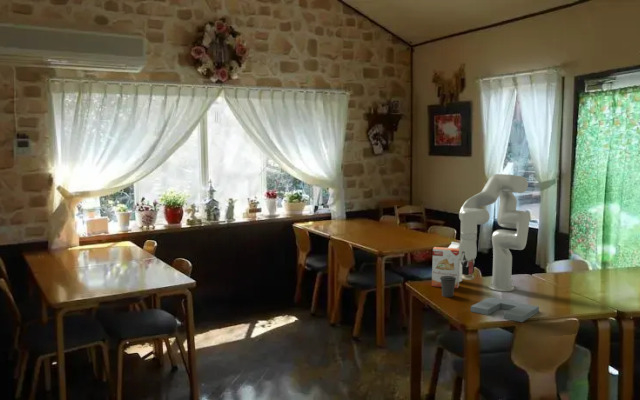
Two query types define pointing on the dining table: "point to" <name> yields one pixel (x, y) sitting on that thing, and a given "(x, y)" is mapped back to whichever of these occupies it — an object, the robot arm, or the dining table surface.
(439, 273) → the cracker box
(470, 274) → the bobbin
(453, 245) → the milk
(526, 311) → the notched board
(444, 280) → the coffee cup
